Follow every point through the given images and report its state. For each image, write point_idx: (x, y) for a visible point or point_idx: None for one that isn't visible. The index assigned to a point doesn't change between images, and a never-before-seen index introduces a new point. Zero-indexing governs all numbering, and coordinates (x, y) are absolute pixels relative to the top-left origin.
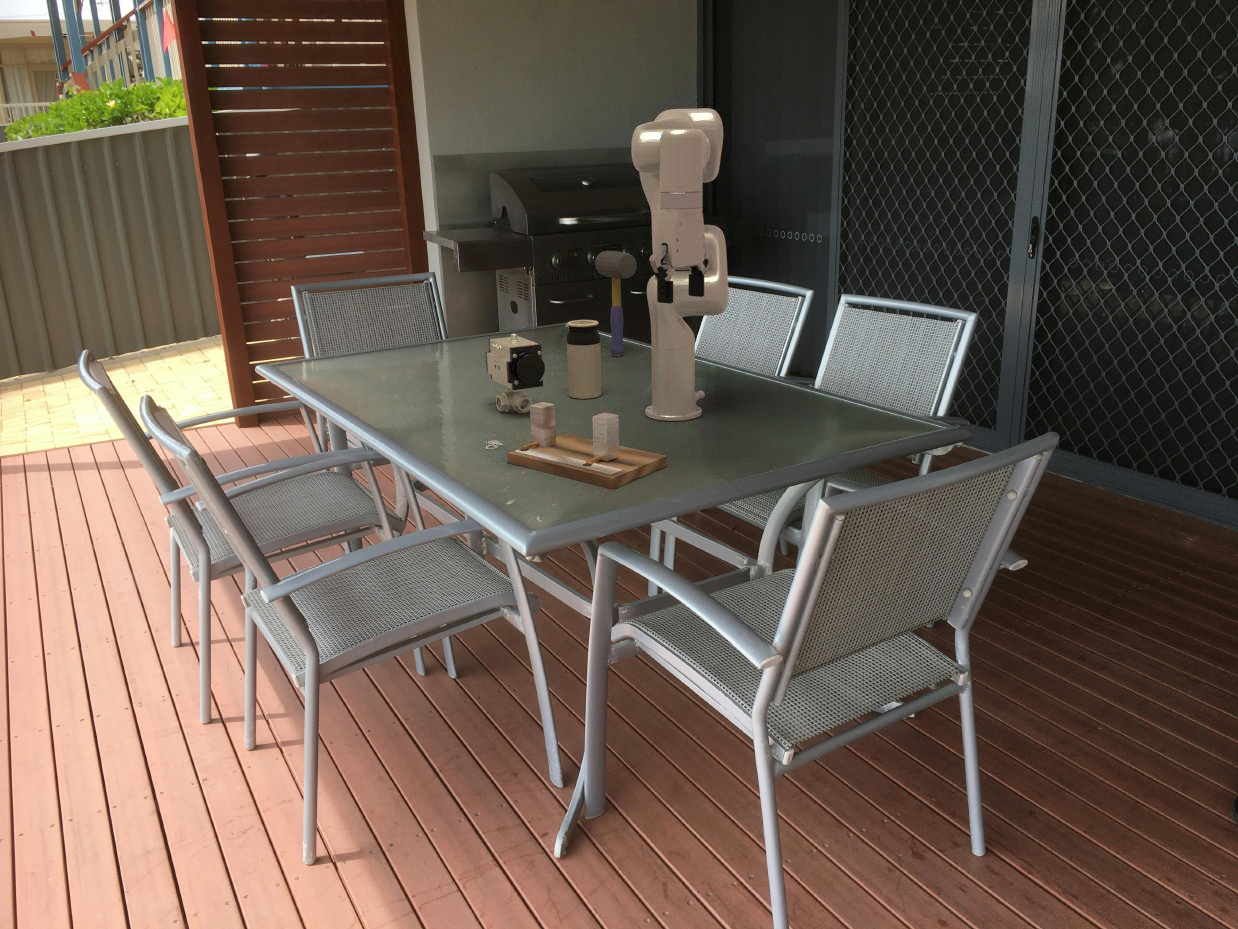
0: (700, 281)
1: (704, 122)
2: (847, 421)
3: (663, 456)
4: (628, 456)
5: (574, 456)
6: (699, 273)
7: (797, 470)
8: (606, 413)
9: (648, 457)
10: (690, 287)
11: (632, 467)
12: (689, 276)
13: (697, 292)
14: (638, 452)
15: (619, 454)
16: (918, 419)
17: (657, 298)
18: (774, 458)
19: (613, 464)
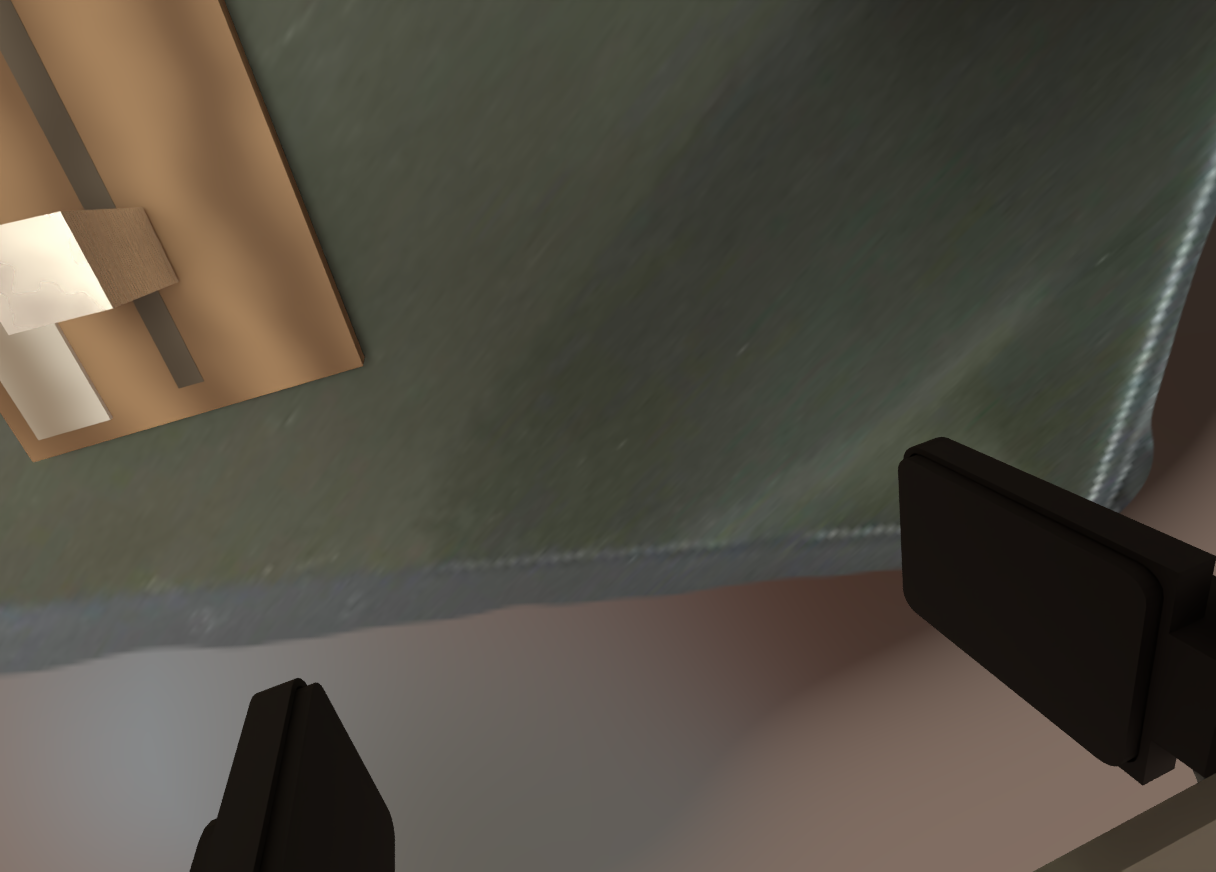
0: (1047, 700)
1: None
2: (1037, 338)
3: (348, 364)
4: (228, 283)
5: None
6: (1180, 752)
7: (635, 579)
8: (63, 237)
9: (292, 341)
10: (973, 520)
11: (171, 402)
12: (1121, 588)
13: (931, 580)
14: (292, 267)
15: (207, 238)
16: (1123, 431)
17: (245, 726)
18: (666, 478)
19: (117, 331)
